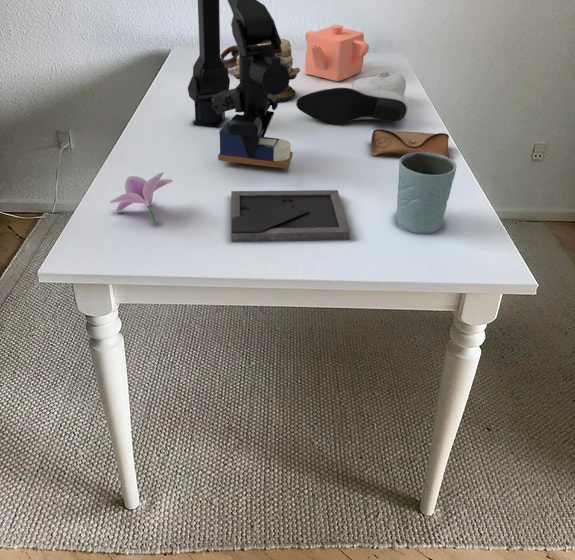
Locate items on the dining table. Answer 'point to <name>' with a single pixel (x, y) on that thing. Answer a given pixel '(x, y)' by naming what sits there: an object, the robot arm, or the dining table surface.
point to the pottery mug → (233, 60)
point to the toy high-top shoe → (266, 152)
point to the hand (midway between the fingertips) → (253, 151)
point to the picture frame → (288, 215)
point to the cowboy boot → (358, 101)
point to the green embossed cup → (423, 191)
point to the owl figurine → (285, 61)
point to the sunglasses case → (408, 143)
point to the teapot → (335, 52)
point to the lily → (140, 191)
